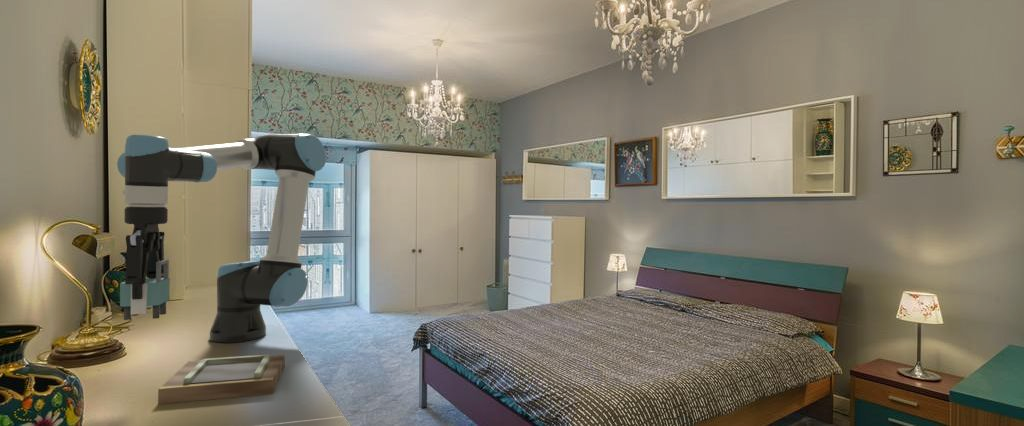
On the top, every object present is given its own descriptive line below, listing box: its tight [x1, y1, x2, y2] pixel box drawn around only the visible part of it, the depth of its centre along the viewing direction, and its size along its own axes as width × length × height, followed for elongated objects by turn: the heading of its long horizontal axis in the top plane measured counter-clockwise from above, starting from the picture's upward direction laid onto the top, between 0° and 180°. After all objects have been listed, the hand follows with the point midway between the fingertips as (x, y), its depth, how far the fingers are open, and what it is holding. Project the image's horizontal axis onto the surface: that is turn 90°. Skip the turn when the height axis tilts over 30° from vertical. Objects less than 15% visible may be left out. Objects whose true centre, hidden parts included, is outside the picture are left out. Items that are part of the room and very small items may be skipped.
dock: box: [157, 353, 286, 405], centre depth 108 cm, size 18×21×4 cm
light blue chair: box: [119, 258, 171, 321], centre depth 104 cm, size 6×7×12 cm
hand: (145, 310), depth 104 cm, fingers closed on light blue chair, 6 cm apart
